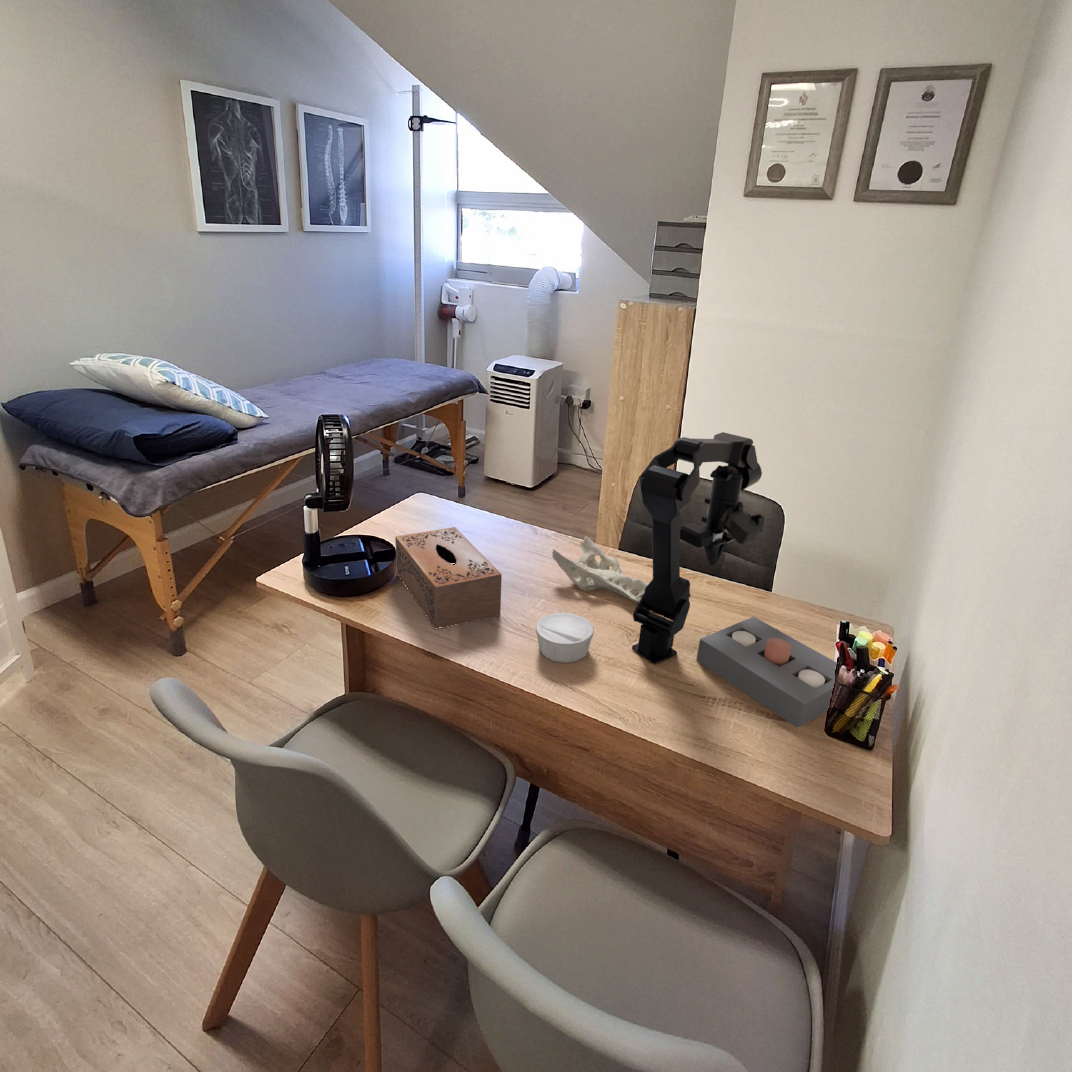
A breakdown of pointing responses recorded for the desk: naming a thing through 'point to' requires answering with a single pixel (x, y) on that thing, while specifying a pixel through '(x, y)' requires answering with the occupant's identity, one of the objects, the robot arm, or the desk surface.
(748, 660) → the housing
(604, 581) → the skull
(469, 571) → the tissue box cover
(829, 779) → the desk surface
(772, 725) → the desk surface
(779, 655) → the knob middle
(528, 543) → the desk surface
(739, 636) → the knob
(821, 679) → the knob
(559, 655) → the ramekin
